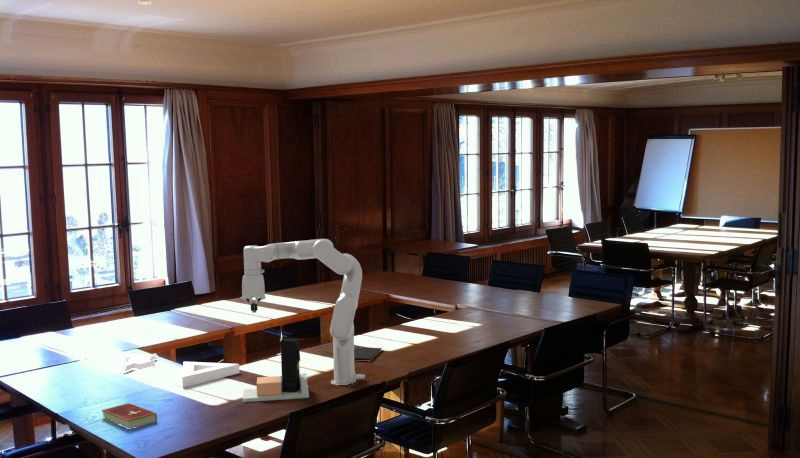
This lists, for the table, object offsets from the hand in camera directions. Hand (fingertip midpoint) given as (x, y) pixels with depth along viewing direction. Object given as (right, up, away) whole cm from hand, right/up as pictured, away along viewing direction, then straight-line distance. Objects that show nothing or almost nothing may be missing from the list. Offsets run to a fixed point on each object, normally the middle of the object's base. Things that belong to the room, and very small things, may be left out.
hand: (254, 312), depth 338 cm
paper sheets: (-65, -33, +34) cm, 80 cm away
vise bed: (+13, -34, -18) cm, 41 cm away
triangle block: (-23, -34, +12) cm, 42 cm away
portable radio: (+20, -33, -17) cm, 42 cm away
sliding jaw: (+10, -33, -19) cm, 39 cm away
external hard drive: (+48, -30, +45) cm, 72 cm away
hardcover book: (-40, -38, -47) cm, 72 cm away
